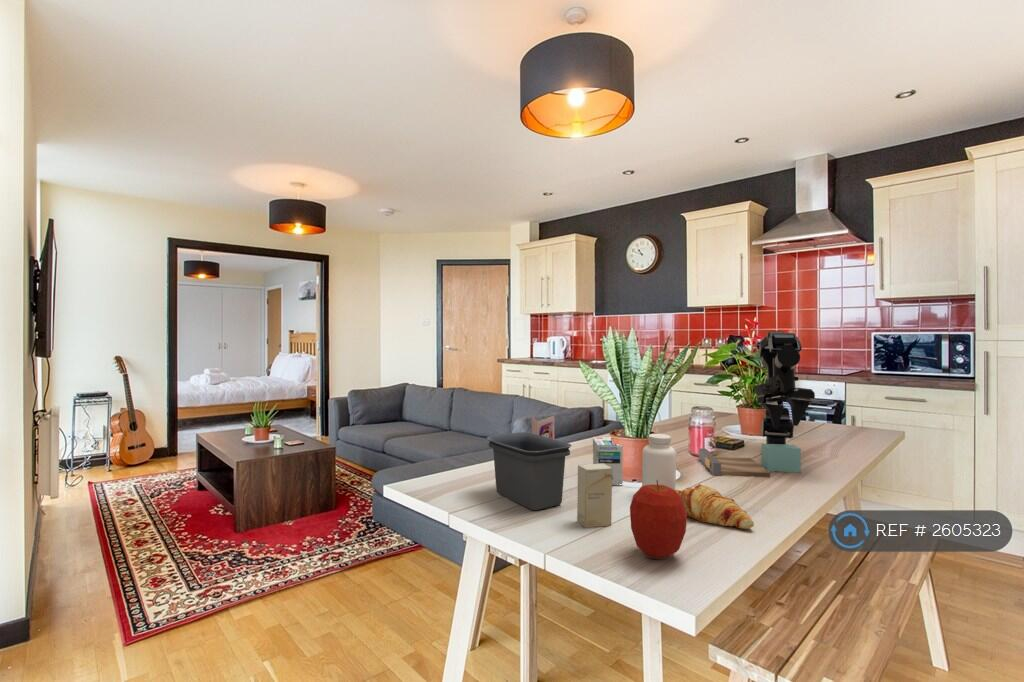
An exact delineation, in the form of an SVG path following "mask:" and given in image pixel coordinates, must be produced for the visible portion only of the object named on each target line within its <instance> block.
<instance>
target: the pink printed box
mask: <svg viewBox="0 0 1024 682" xmlns="http://www.w3.org/2000/svg"><path fill="white" fill-rule="evenodd" d="M531 433H534V434H537V435H541V436H545V437H548V438H552V439H555V415H551V416H550V417H546V418H544V419H540V420H538V421H537V419H536V418H535V417H534V415H533V414H531Z"/></svg>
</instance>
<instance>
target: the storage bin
mask: <svg viewBox="0 0 1024 682" xmlns="http://www.w3.org/2000/svg"><path fill="white" fill-rule="evenodd" d="M486 439H487V440H488V441H489V442H488V447H489V448H491V449H492V453H493V463H494V472H495V473H494V475H495V476H494V477H495V488H496V493H497V492H498V494H499V493H500V494H499V495H501V496H503V497H505V498H508V499H509V500H511V501H513V502H515V503H517V504H519V505H522V506H523V507H526V508H527V509H529V510H531V511H532V510H533V511H539V510H543V509H547V508H552V507H556V506H559V505H561V504H562V503H563V492H564V479H565V467H566V466H565V464H566V457H568V456H570V455H571V450H570V448H571V447H572V446H573V444H571V443H569V442H565V441H563V440H559V439H555V438H554V439H552V438H548V437H545V436H541V435H537V434H534V433H532V432H527V431H526V432H525V431H523V432H521V431H520V432H511V433H503V434H494V435H493V434H492V435H489V436H487V438H486Z"/></svg>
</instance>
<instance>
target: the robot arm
mask: <svg viewBox="0 0 1024 682" xmlns="http://www.w3.org/2000/svg"><path fill="white" fill-rule="evenodd" d="M798 337H799V336H796V333H795V332H784V331H782V330H768V331H766V336H765V337H764V338H763V339H762V340H760V341H759V347H758V348H759V349H758V353H759V354H758V357H759V358H761V365H762V366H763V367H764V368H765V369H766V379H765V382H764V383H760V384H756V385H753V389H754V391H755V394H756V396H757V397H756V398H757V404H758V405H760V407H763V408H764V409H765V413H764V416H763V417H762V418H761V419H762V420H761V428H760V430H761V433H760V434H761V436H762V437H765V439H766V440H765V441H766V442H765V444H785V445H787V439H792V438H794V427H798V426H799V424H800V423H801V420H802V418H803V417H804V415H805V412H806V410H807V409H808V408H809V406H810V404H812V402H813V400H814V401H815V400H816V395H815V392H814V390H813V389H811V388H805V387H804V388H803V387H796V382H798V381H799V376H796V373H795V372H796V371H795V368H796V367H797V365H798V364H799V362H800V361H801V354H800V352H801V351H802V347H803V346H802V344H801V341H800V340H799V338H798ZM784 401H786V402H787V403H788V405H789V406H790V410H789V408H787V407H785V405H784ZM790 412H791V416H790ZM790 417H791V418H790Z"/></svg>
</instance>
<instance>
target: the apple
mask: <svg viewBox="0 0 1024 682" xmlns="http://www.w3.org/2000/svg"><path fill="white" fill-rule="evenodd" d="M675 490H676V489H675ZM675 490H674V489H672V488H669V487H667V486H664V485H658V480H657V485H645V486H642V485H641V487H640V488H639V489H638V490H637V491H636V492H635V493H634V494H633V496H632V499H631V503H630V505H629V514H630V528H631V533H632V535H633V538H634V541H635V543H636V547H637V548H638V549H639V550H640V551H641V552H642V553H643V554H644V555H645V556H646V557H647V558H650V559H653V560H663V559H666V558H669V557H671V556H672V555H674V554H675V553H677V552H678V551H679V550H680V548H681V546H682V543H683V540H684V537H685V534H686V532H687V523H688V522H687V521H688V520H687V519H688V516H687V512H686V509H685V507H684V504H683V501H682V499H681V497H680V496H679V495H678V493H677V492H676V491H675Z"/></svg>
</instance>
